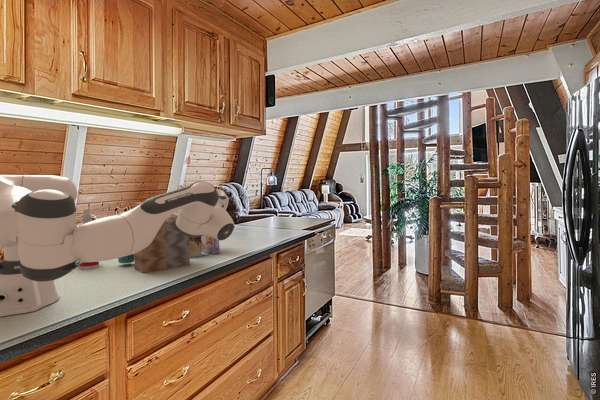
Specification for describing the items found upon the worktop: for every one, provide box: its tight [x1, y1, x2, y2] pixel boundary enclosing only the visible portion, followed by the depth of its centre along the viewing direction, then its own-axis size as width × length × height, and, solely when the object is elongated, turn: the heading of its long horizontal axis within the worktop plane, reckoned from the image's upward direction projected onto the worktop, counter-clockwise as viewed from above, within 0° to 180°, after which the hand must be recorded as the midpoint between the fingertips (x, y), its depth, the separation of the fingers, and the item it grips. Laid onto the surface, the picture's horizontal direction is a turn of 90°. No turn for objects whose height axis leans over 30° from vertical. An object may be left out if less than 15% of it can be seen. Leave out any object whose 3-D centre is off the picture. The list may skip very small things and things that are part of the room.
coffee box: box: [189, 236, 203, 258], centre depth 166 cm, size 9×6×16 cm
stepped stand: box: [132, 201, 191, 274], centre depth 145 cm, size 20×10×28 cm, turn 132°
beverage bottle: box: [117, 254, 134, 264], centre depth 148 cm, size 6×7×20 cm
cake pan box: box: [201, 235, 221, 255], centre depth 176 cm, size 19×5×18 cm, turn 48°
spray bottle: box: [76, 208, 100, 270], centre depth 145 cm, size 8×8×25 cm
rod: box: [167, 211, 179, 221], centre depth 146 cm, size 3×20×3 cm, turn 42°
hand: (191, 186), depth 130 cm, fingers open, 8 cm apart
